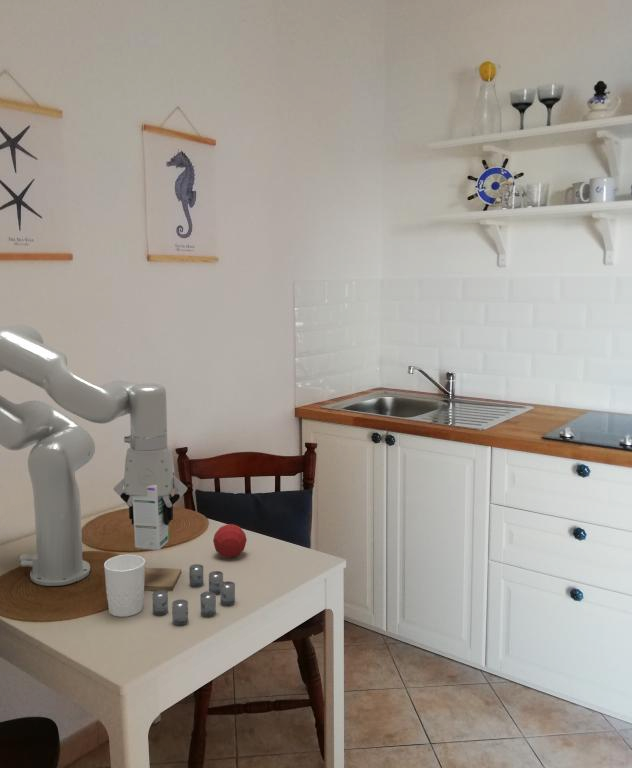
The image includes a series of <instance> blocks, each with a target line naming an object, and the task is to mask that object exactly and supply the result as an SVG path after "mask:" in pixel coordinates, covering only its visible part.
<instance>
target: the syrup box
mask: <svg viewBox="0 0 632 768" xmlns="http://www.w3.org/2000/svg"><path fill="white" fill-rule="evenodd" d="M148 485H149V484H148ZM145 487H146V486H145ZM147 488H148V493H147V496H133V516H134V524H133V529H134V530H133V532H134V547H135V548H136V549H142V550H150V551H151V550H152V551H160V550H161V549H162V548H163V547H164V546H165V545H166V544H167V543H168V542H169V541H170V540H171V539H170V538H171V537H170V523H169V524H168V525H165V524H164V507H165V506H166V504H165V502H164V499H163V497H158V494H157V485H152V486H151V485H150V486H148V487H147Z"/></svg>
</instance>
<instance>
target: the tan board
mask: <svg viewBox="0 0 632 768" xmlns="http://www.w3.org/2000/svg"><path fill="white" fill-rule="evenodd" d="M181 575H182V568H167V567H166V568H163V567H160V568H159V567H145V582H144V591H153V592H155V591H158V590H165V591H167V592H173V591H174V589H175V586H176V584H177V582H178V580H179V579H180V576H181Z"/></svg>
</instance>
